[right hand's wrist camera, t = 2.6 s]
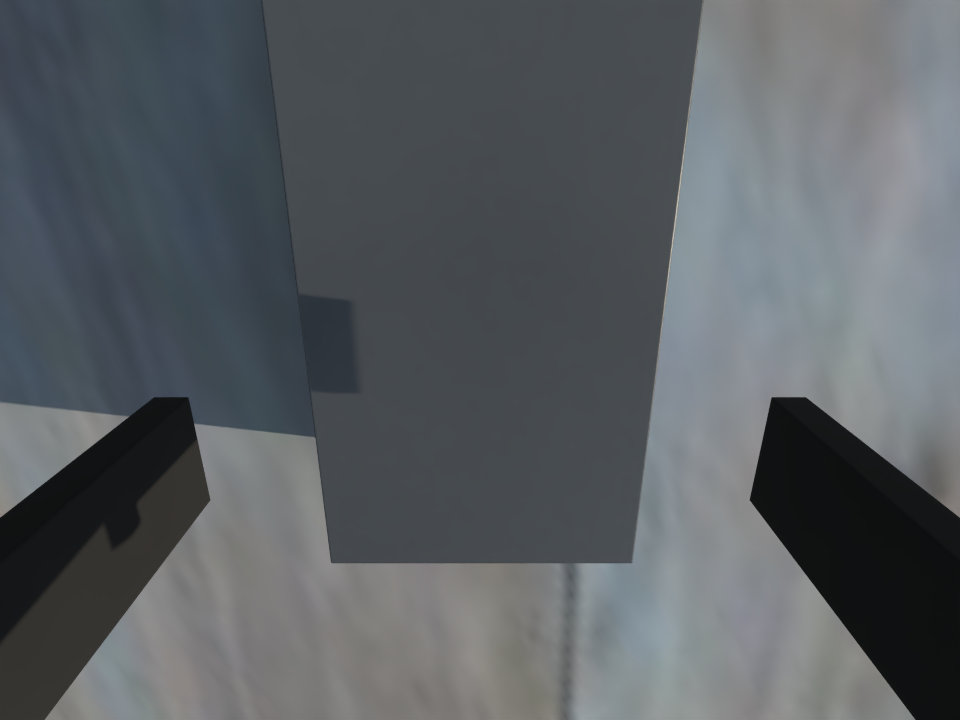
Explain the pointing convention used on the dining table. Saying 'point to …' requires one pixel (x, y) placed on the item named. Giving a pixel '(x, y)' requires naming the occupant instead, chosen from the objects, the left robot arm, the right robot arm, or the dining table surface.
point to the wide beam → (482, 263)
